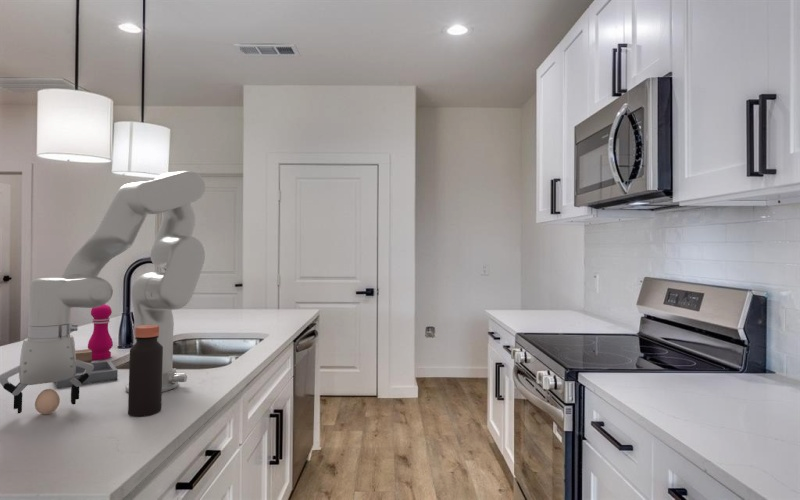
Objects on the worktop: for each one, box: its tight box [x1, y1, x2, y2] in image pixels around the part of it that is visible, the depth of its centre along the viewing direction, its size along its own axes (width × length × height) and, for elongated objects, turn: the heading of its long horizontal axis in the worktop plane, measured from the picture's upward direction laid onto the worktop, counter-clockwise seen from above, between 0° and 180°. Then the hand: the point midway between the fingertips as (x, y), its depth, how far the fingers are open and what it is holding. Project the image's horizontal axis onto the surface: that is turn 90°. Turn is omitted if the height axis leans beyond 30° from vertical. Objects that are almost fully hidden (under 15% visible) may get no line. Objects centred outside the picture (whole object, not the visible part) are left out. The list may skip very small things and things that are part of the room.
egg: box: [34, 388, 61, 416], centre depth 103 cm, size 4×4×6 cm
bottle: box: [127, 325, 163, 418], centre depth 105 cm, size 7×7×20 cm
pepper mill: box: [87, 304, 114, 361], centre depth 155 cm, size 7×7×20 cm
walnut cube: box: [75, 348, 93, 363], centre depth 143 cm, size 5×5×5 cm
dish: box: [54, 360, 119, 389], centre depth 131 cm, size 14×14×3 cm
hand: (47, 407), depth 103 cm, fingers open, 9 cm apart
